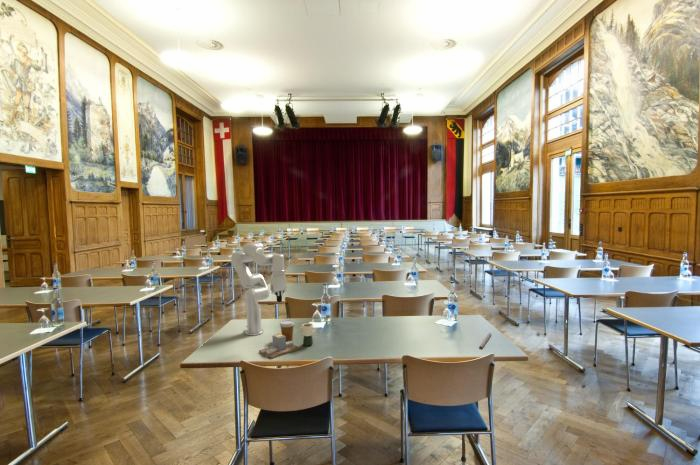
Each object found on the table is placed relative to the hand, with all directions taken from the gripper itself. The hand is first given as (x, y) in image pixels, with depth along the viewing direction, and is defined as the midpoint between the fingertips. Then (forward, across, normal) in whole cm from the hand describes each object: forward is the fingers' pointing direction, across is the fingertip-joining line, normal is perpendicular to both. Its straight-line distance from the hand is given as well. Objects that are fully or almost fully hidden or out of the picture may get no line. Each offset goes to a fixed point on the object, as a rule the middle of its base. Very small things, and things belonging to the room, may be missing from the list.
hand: (279, 301), depth 235 cm
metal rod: (+28, -92, +94) cm, 134 cm away
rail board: (+27, +8, +11) cm, 30 cm away
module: (+26, +8, +11) cm, 29 cm away
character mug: (+27, -10, +16) cm, 33 cm away
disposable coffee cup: (+27, -6, -1) cm, 28 cm away
